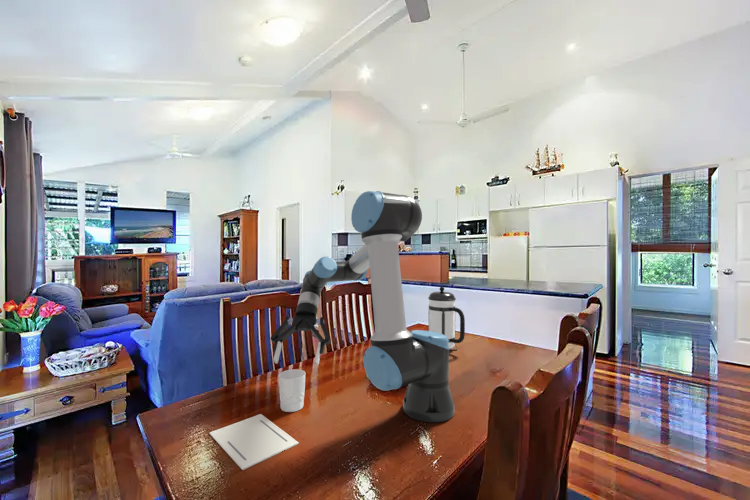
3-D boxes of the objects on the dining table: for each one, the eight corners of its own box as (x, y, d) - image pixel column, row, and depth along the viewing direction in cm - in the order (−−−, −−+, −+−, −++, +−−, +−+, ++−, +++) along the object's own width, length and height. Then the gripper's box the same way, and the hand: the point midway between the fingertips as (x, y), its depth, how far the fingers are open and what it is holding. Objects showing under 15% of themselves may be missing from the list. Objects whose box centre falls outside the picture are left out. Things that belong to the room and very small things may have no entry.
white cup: (296, 398, 107) (296, 367, 107) (310, 407, 101) (310, 374, 101) (273, 406, 101) (273, 373, 101) (287, 416, 96) (287, 381, 96)
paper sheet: (298, 443, 82) (298, 442, 82) (242, 470, 72) (242, 468, 72) (260, 414, 96) (260, 413, 96) (209, 433, 86) (209, 432, 86)
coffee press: (425, 354, 153) (425, 288, 153) (426, 344, 169) (426, 284, 168) (464, 356, 150) (465, 289, 150) (461, 346, 166) (461, 285, 166)
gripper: (342, 313, 125) (335, 368, 110) (276, 312, 126) (261, 366, 111) (340, 301, 120) (333, 357, 105) (271, 300, 121) (254, 355, 106)
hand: (296, 362), depth 108 cm, fingers open, 13 cm apart
